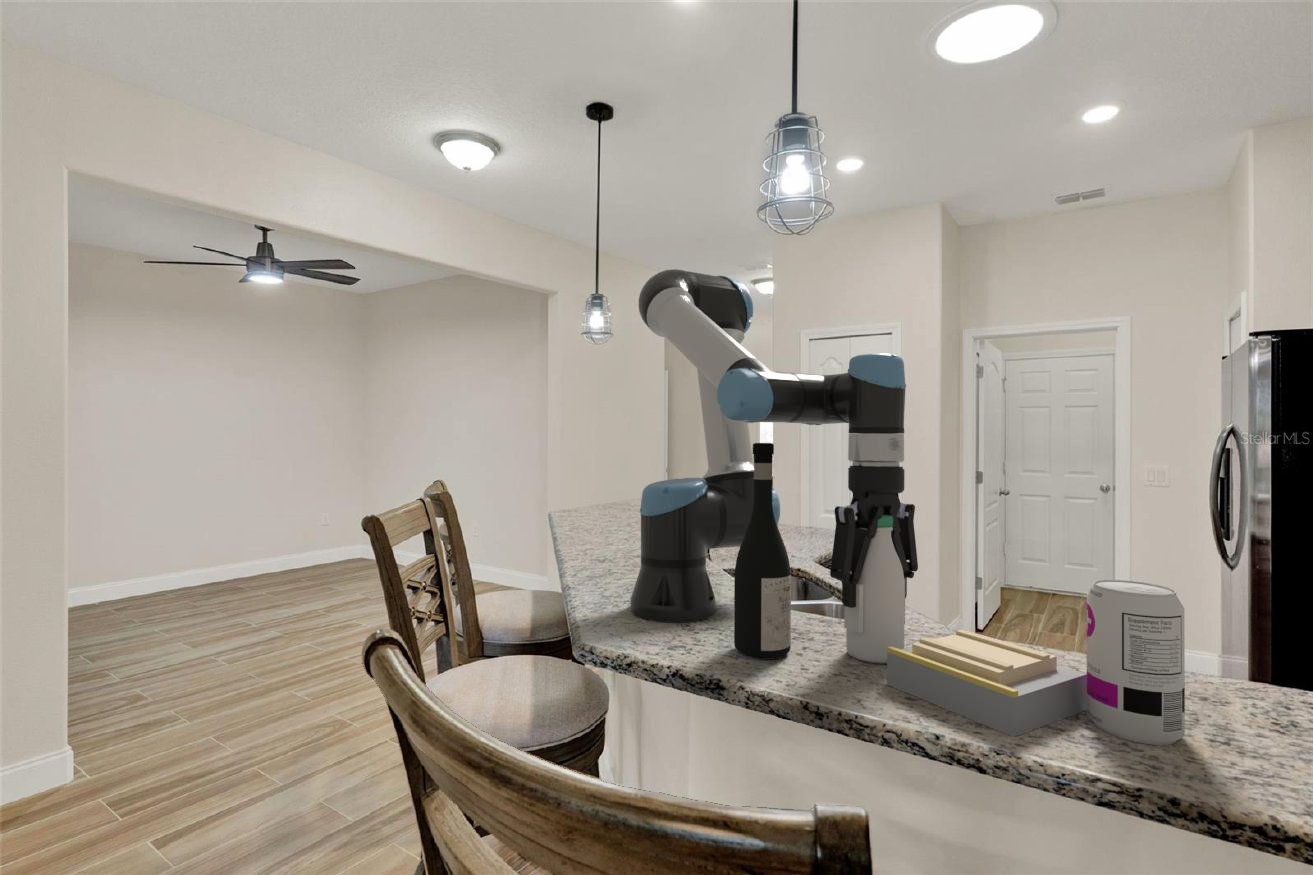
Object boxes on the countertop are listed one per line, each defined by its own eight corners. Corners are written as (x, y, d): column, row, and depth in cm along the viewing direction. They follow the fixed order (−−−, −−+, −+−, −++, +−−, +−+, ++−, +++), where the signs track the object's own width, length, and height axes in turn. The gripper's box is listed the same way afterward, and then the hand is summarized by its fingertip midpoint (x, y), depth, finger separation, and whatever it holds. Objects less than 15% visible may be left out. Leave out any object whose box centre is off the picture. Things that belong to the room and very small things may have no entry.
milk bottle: (909, 667, 84) (909, 517, 84) (849, 662, 86) (850, 516, 86) (898, 648, 92) (899, 511, 92) (843, 645, 93) (844, 510, 93)
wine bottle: (800, 651, 90) (801, 443, 91) (772, 666, 84) (774, 442, 85) (752, 639, 96) (753, 442, 96) (723, 652, 90) (724, 442, 90)
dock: (887, 684, 78) (887, 636, 78) (958, 665, 85) (958, 622, 85) (1013, 737, 64) (1013, 679, 64) (1087, 709, 71) (1087, 657, 71)
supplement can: (1074, 725, 67) (1074, 584, 67) (1102, 706, 72) (1102, 575, 72) (1170, 756, 60) (1170, 600, 61) (1194, 733, 65) (1193, 588, 66)
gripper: (843, 466, 81) (841, 644, 80) (946, 464, 91) (945, 623, 90) (802, 464, 87) (801, 628, 87) (903, 462, 97) (902, 610, 97)
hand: (875, 625), depth 89 cm, fingers closed on milk bottle, 8 cm apart
